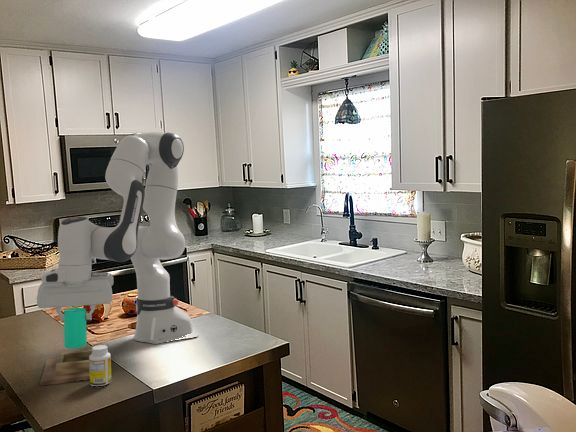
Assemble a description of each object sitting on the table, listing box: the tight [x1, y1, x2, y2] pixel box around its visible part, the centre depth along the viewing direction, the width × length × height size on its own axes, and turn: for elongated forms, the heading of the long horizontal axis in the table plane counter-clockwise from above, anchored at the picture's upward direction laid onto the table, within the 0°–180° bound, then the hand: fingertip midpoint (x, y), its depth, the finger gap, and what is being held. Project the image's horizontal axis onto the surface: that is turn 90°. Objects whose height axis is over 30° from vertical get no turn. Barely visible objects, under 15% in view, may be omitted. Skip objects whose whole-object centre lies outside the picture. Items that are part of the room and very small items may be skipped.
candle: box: [63, 306, 88, 349], centre depth 150 cm, size 6×6×12 cm
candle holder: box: [39, 349, 92, 387], centre depth 151 cm, size 18×18×4 cm
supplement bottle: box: [89, 344, 112, 387], centre depth 141 cm, size 6×6×10 cm
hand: (76, 320), depth 150 cm, fingers closed on candle, 5 cm apart
